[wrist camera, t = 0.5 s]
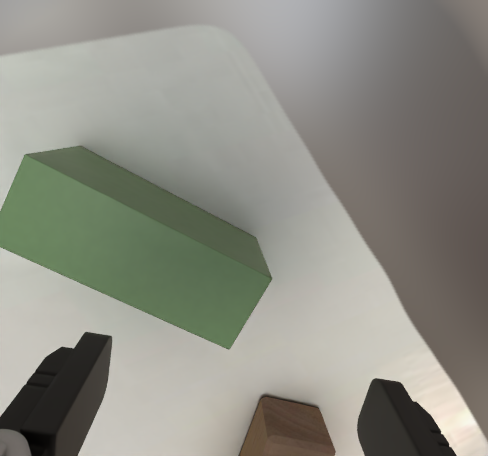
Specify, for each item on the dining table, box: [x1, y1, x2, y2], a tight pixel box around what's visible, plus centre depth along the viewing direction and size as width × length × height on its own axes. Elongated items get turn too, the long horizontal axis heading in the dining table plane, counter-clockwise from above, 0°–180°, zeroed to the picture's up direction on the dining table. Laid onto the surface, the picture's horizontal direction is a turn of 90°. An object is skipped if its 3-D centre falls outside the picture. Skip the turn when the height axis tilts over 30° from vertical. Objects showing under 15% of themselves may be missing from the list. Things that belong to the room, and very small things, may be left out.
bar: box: [0, 146, 272, 349], centre depth 24 cm, size 5×14×8 cm, turn 61°
